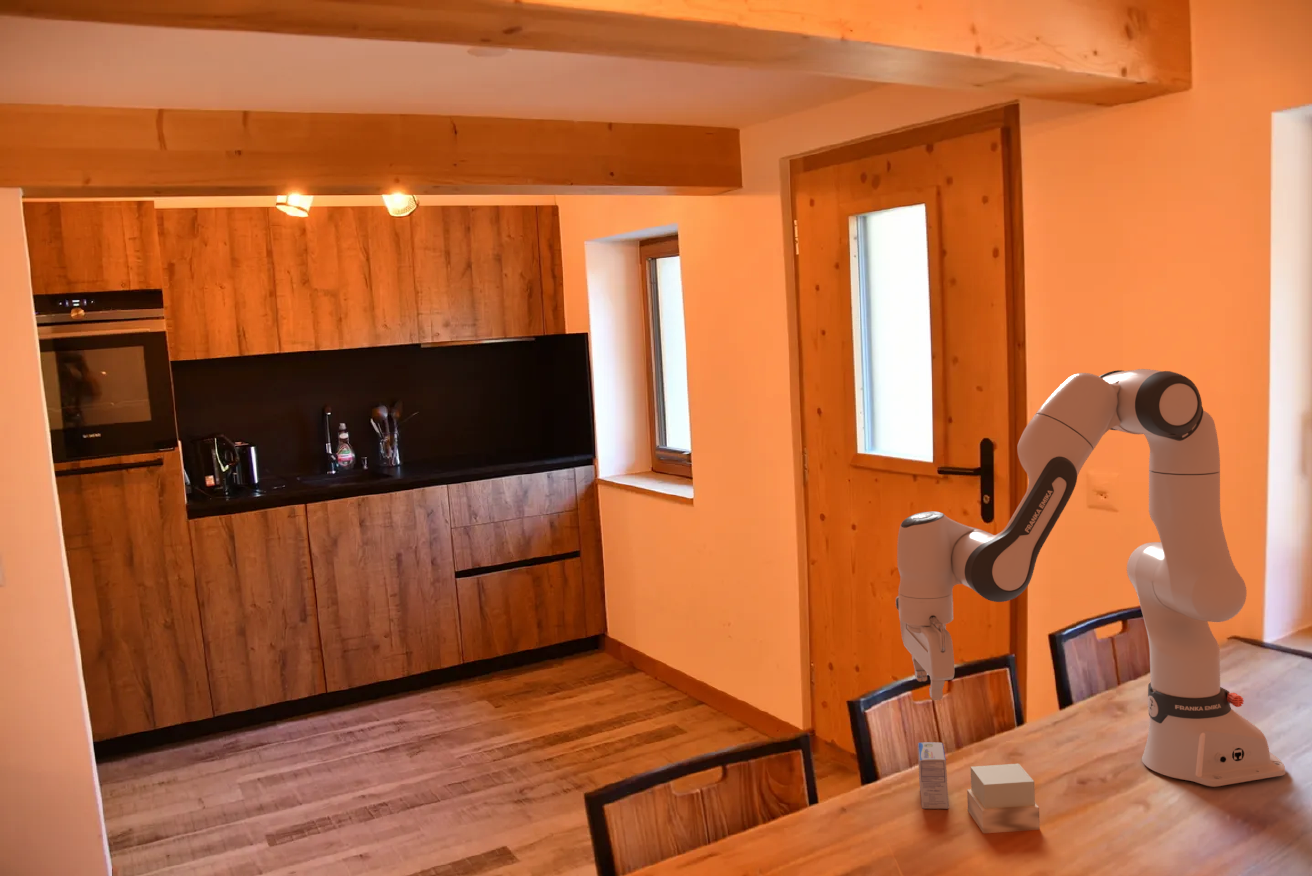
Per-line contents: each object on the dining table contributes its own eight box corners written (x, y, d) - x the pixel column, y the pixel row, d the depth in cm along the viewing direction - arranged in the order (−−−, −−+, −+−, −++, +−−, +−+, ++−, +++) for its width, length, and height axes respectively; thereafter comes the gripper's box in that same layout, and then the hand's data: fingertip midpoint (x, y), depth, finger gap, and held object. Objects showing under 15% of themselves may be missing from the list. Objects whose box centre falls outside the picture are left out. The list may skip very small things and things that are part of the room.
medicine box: (948, 810, 175) (946, 760, 175) (921, 809, 176) (919, 759, 176) (945, 789, 183) (943, 741, 182) (919, 789, 184) (917, 741, 183)
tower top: (1019, 786, 174) (1018, 763, 174) (1035, 805, 167) (1034, 781, 167) (971, 790, 174) (970, 766, 174) (984, 809, 167) (984, 784, 167)
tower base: (1021, 809, 175) (1021, 785, 174) (1039, 831, 167) (1039, 807, 166) (967, 812, 175) (967, 789, 174) (983, 835, 167) (982, 811, 166)
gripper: (963, 624, 166) (965, 709, 168) (928, 593, 187) (931, 669, 188) (923, 627, 166) (926, 712, 167) (893, 595, 187) (895, 671, 188)
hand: (928, 689), depth 178 cm, fingers open, 8 cm apart
